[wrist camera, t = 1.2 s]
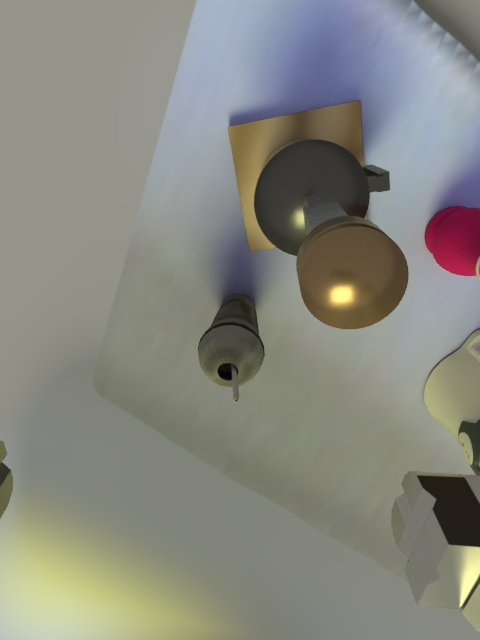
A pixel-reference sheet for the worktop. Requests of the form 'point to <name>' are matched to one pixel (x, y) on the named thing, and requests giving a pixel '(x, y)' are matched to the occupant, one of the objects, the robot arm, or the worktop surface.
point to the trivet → (266, 135)
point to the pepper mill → (456, 240)
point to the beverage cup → (232, 345)
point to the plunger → (348, 268)
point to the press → (310, 187)
